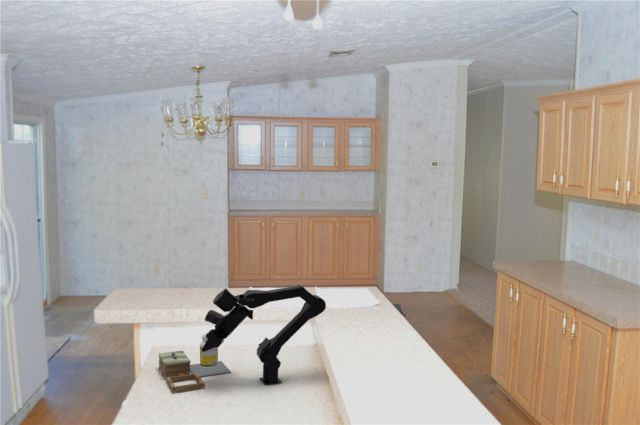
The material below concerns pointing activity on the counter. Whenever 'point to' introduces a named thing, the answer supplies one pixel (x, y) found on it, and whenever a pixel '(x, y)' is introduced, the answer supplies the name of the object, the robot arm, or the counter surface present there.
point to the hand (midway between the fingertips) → (205, 348)
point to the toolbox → (178, 372)
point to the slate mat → (209, 370)
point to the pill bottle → (208, 355)
